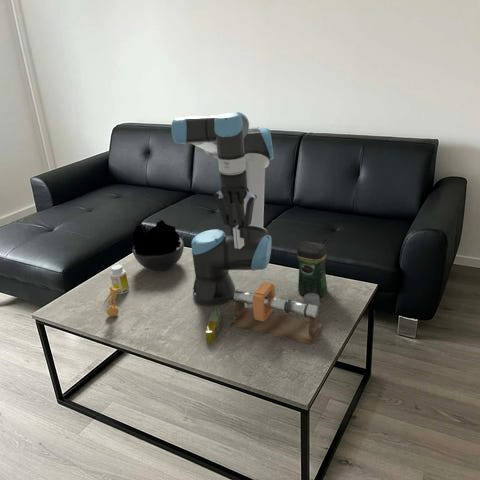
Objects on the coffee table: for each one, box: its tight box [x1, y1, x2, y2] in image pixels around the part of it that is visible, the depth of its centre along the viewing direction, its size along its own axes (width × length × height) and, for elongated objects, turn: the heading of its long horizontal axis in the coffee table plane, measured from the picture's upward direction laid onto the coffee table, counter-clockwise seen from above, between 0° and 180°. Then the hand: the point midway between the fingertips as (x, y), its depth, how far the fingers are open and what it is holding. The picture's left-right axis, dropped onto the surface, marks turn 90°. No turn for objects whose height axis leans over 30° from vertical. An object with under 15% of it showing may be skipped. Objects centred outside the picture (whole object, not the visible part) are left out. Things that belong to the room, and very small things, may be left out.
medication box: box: [204, 309, 222, 343], centre depth 150 cm, size 12×3×4 cm, turn 172°
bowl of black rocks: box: [132, 219, 185, 272], centre depth 187 cm, size 20×20×19 cm
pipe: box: [233, 289, 318, 318], centre depth 147 cm, size 27×4×4 cm, turn 63°
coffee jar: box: [296, 240, 328, 298], centre depth 163 cm, size 10×8×19 cm
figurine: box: [103, 286, 121, 318], centre depth 160 cm, size 8×6×12 cm
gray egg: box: [303, 293, 320, 314], centre depth 154 cm, size 5×5×6 cm
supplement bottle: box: [109, 264, 130, 295], centre depth 175 cm, size 6×6×10 cm
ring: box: [252, 281, 276, 321], centre depth 148 cm, size 3×10×10 cm, turn 153°
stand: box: [230, 301, 323, 345], centre depth 149 cm, size 27×9×7 cm, turn 63°
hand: (239, 246), depth 143 cm, fingers closed
